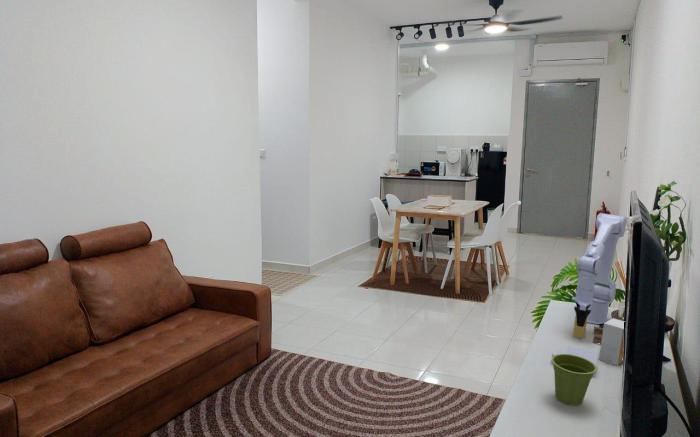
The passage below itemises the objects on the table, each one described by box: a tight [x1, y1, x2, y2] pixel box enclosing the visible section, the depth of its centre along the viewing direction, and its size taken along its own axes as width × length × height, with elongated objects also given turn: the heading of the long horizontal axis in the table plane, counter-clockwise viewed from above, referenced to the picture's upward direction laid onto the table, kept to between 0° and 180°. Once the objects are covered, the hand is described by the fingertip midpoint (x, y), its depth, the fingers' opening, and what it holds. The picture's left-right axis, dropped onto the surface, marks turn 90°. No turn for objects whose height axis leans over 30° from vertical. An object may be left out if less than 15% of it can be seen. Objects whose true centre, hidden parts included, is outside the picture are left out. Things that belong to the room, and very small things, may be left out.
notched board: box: [592, 326, 603, 345], centre depth 192 cm, size 11×8×2 cm
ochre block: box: [572, 316, 588, 339], centre depth 195 cm, size 4×4×7 cm
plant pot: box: [551, 354, 598, 407], centre depth 147 cm, size 12×12×11 cm
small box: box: [598, 317, 625, 366], centre depth 175 cm, size 8×6×13 cm
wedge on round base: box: [550, 345, 598, 366], centre depth 169 cm, size 9×7×13 cm
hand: (580, 322), depth 195 cm, fingers open, 7 cm apart
